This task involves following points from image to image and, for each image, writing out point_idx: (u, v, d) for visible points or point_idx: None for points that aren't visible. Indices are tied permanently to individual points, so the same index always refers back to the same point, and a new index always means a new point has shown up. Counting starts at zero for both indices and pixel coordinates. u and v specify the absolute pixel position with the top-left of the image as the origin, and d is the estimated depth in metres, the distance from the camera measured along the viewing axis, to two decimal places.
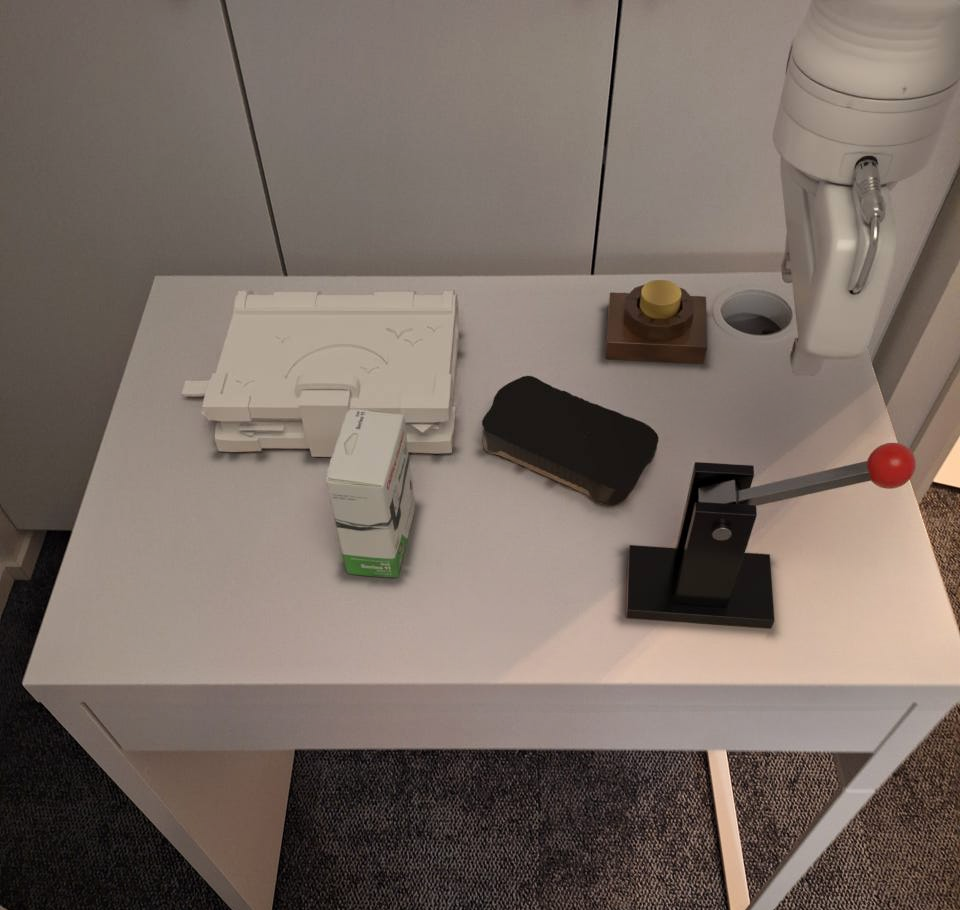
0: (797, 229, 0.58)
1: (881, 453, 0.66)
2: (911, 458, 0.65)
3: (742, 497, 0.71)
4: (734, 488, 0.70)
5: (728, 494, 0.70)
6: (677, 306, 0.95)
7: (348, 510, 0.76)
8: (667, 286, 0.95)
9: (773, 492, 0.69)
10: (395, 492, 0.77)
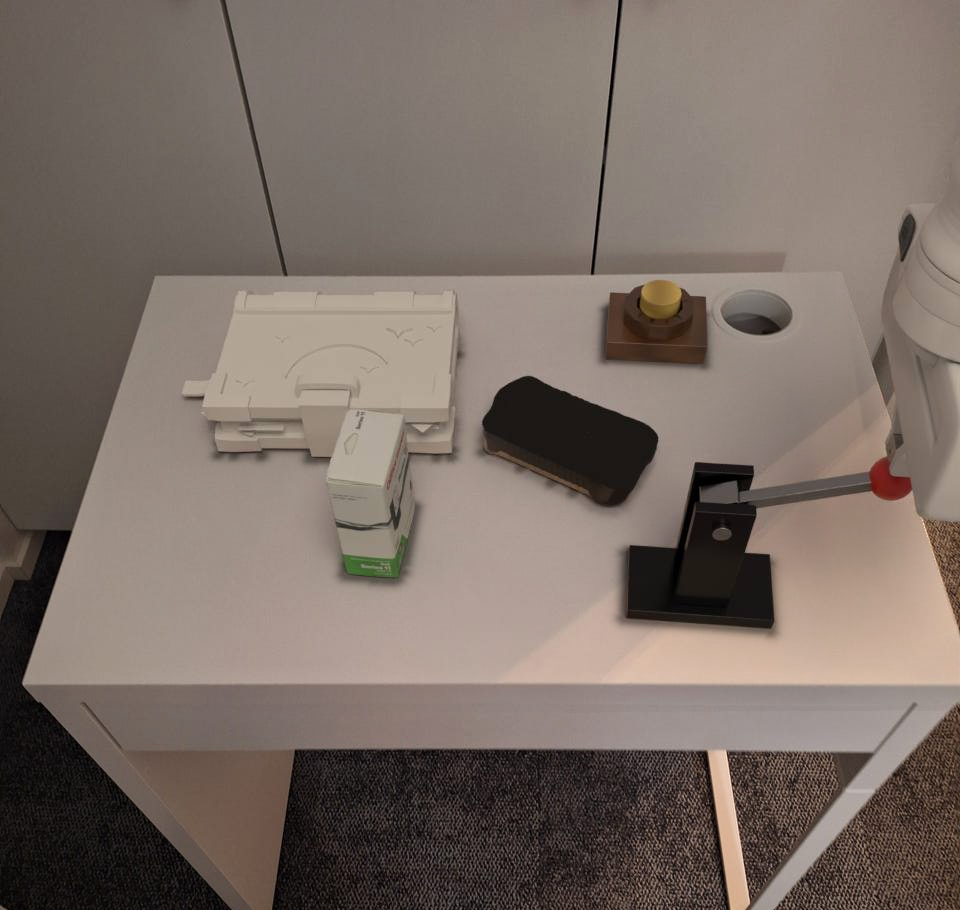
0: (908, 388, 0.60)
1: (885, 465, 0.67)
2: None
3: (743, 499, 0.71)
4: (736, 489, 0.71)
5: (730, 495, 0.70)
6: (677, 306, 0.95)
7: (348, 510, 0.76)
8: (667, 286, 0.95)
9: (775, 496, 0.70)
10: (395, 492, 0.77)
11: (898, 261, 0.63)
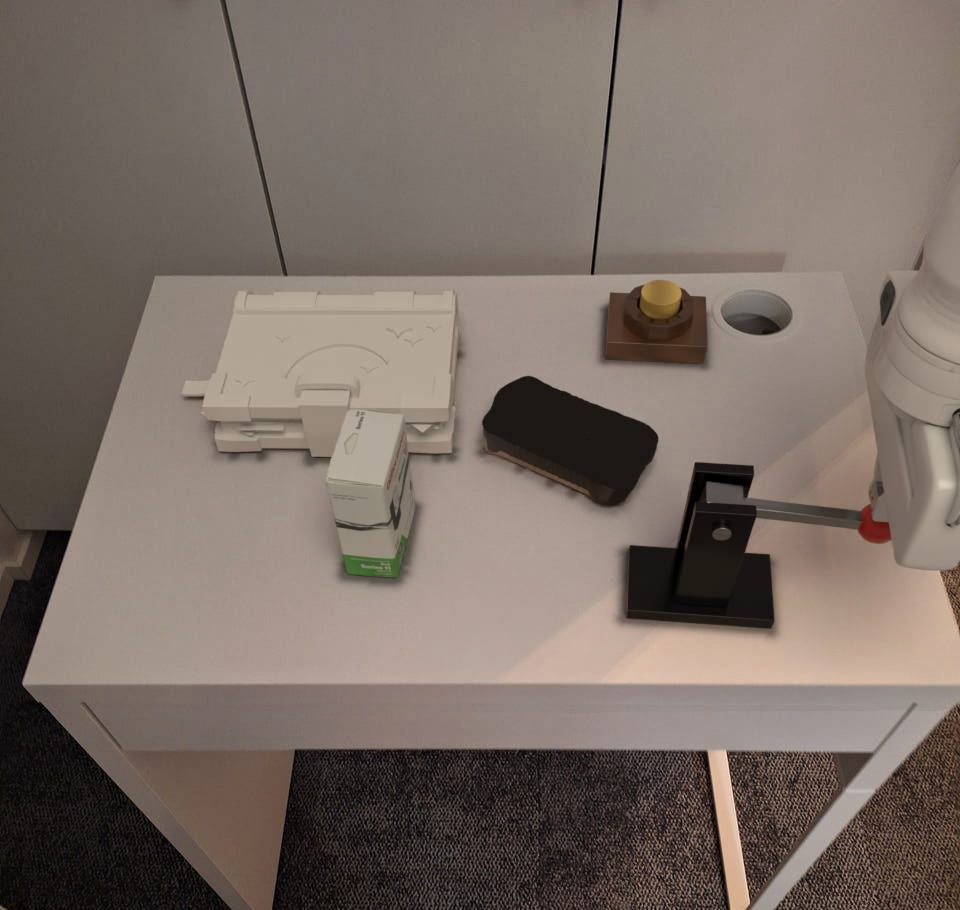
0: (889, 442, 0.64)
1: None
2: None
3: None
4: (742, 494, 0.71)
5: (736, 498, 0.71)
6: (677, 306, 0.95)
7: (348, 510, 0.76)
8: (667, 286, 0.95)
9: (775, 510, 0.71)
10: (395, 492, 0.77)
11: (880, 321, 0.67)
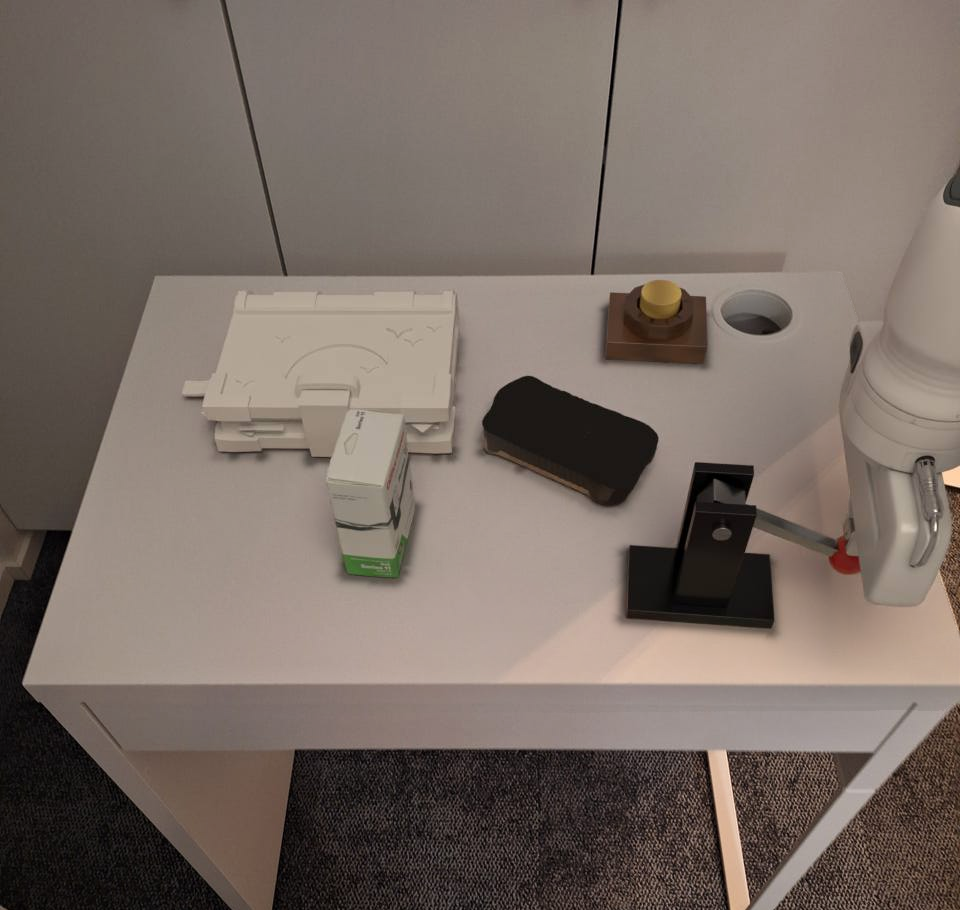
0: (859, 483, 0.68)
1: None
2: None
3: None
4: (744, 499, 0.71)
5: (740, 501, 0.71)
6: (677, 306, 0.95)
7: (348, 510, 0.76)
8: (667, 286, 0.95)
9: (769, 522, 0.72)
10: (395, 492, 0.77)
11: (851, 366, 0.70)
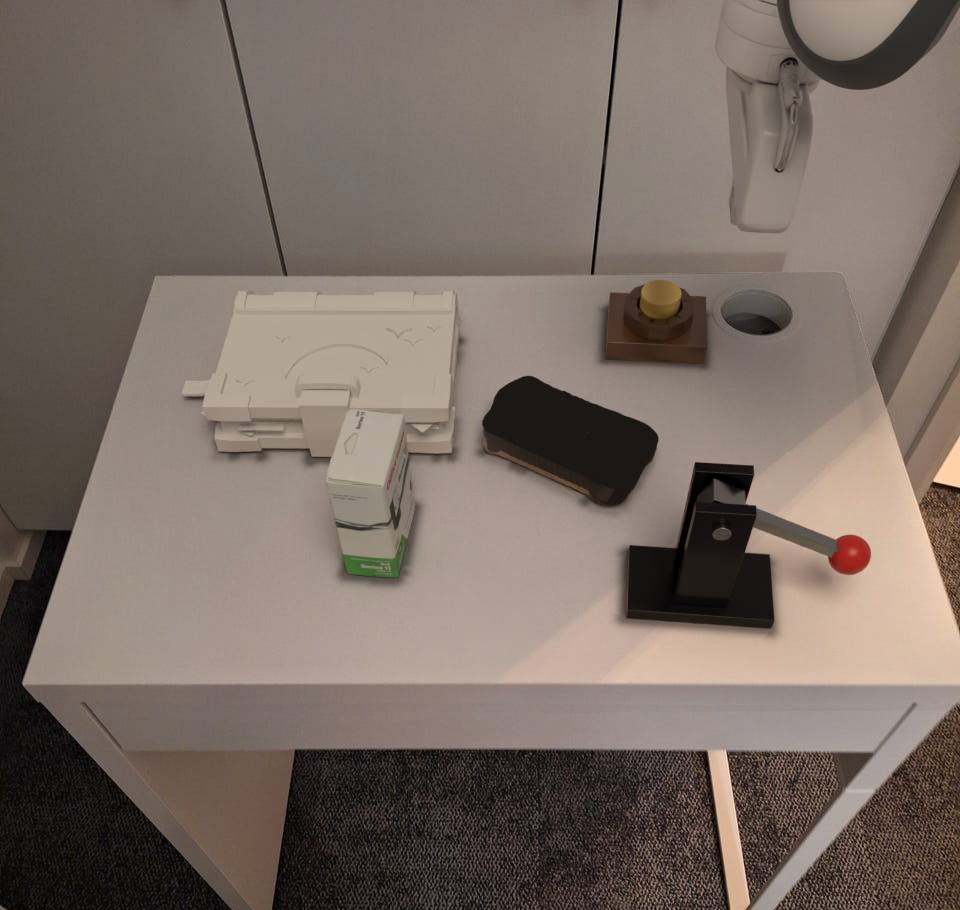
0: (737, 129, 0.69)
1: (858, 543, 0.74)
2: None
3: None
4: (744, 499, 0.71)
5: (740, 501, 0.71)
6: (677, 306, 0.95)
7: (348, 510, 0.76)
8: (667, 286, 0.95)
9: (769, 522, 0.72)
10: (395, 492, 0.77)
11: None
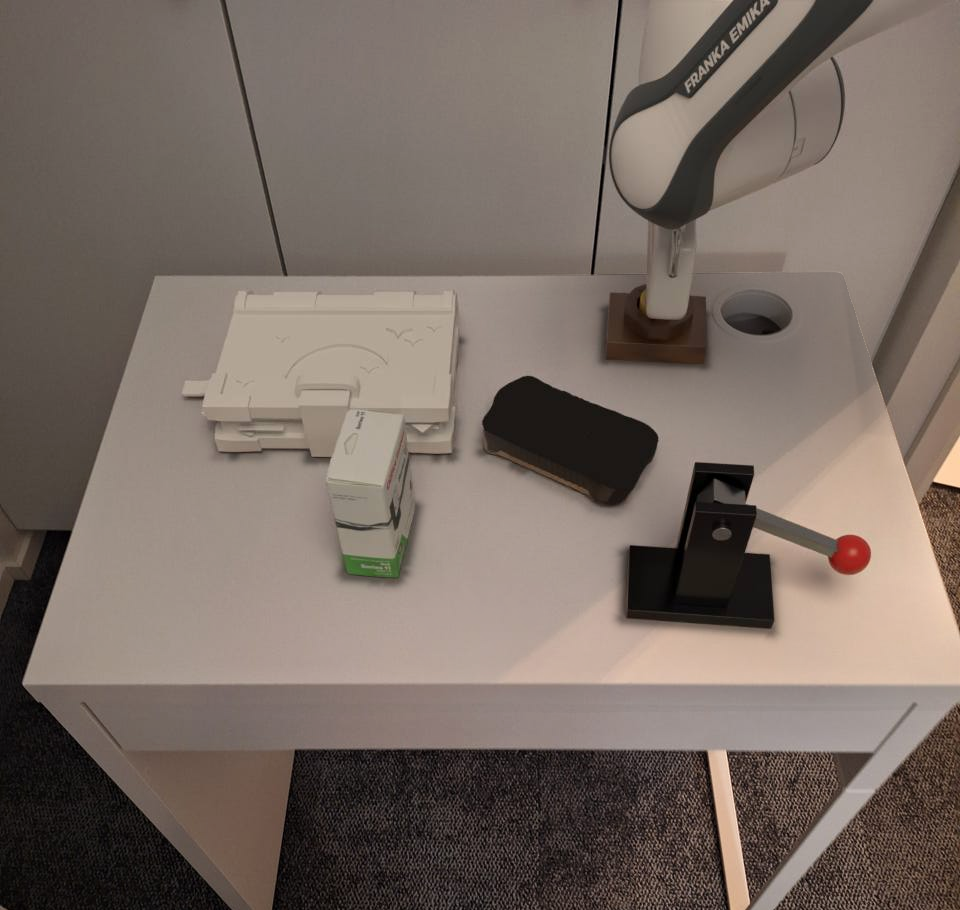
0: (649, 236, 0.89)
1: (858, 543, 0.74)
2: None
3: None
4: (744, 499, 0.71)
5: (740, 501, 0.71)
6: None
7: (348, 510, 0.76)
8: None
9: (769, 522, 0.72)
10: (395, 492, 0.77)
11: None
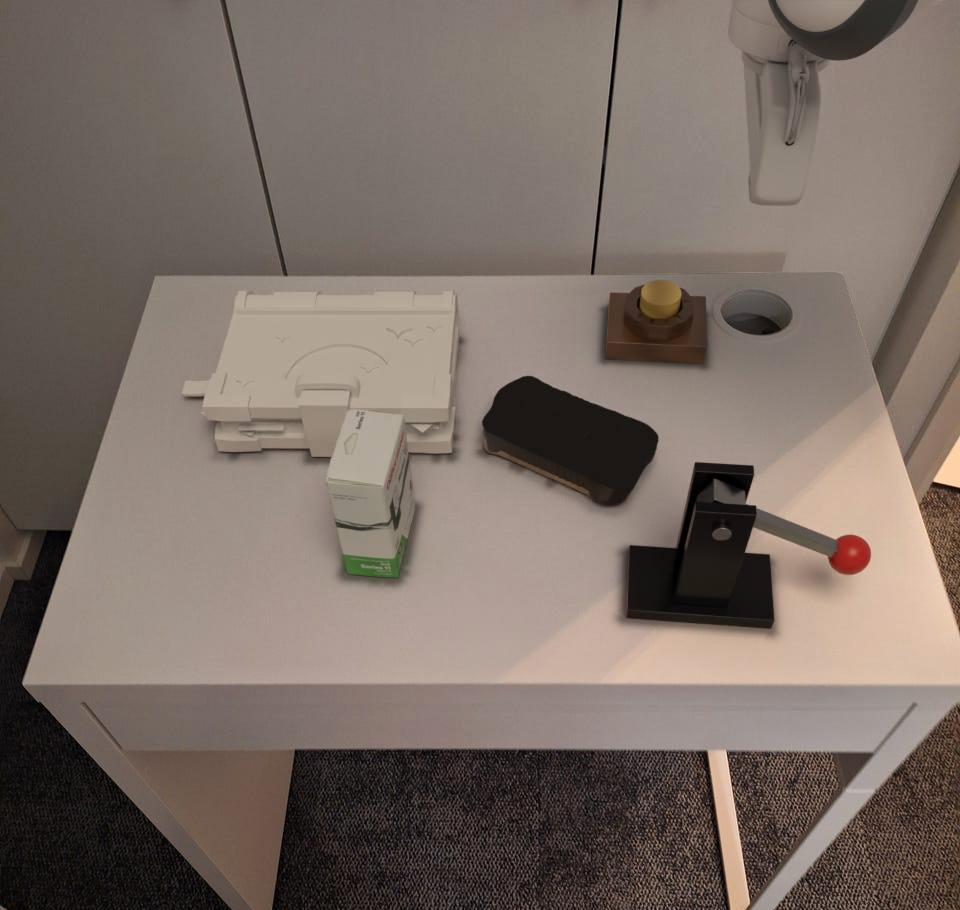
0: (752, 109, 0.72)
1: (858, 543, 0.74)
2: None
3: None
4: (744, 499, 0.71)
5: (740, 501, 0.71)
6: (677, 306, 0.95)
7: (348, 510, 0.76)
8: (667, 286, 0.95)
9: (769, 522, 0.72)
10: (395, 492, 0.77)
11: None
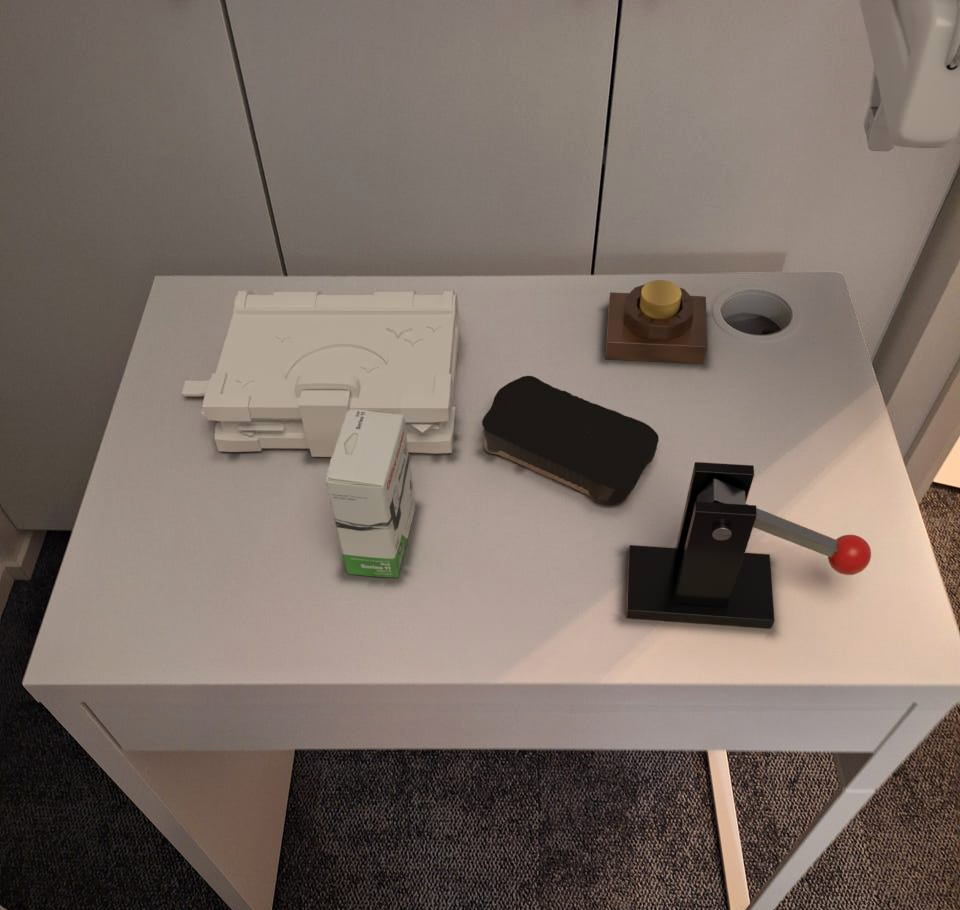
0: (884, 33, 0.60)
1: (858, 543, 0.74)
2: None
3: None
4: (744, 499, 0.71)
5: (740, 501, 0.71)
6: (677, 306, 0.95)
7: (348, 510, 0.76)
8: (667, 286, 0.95)
9: (769, 522, 0.72)
10: (395, 492, 0.77)
11: None
